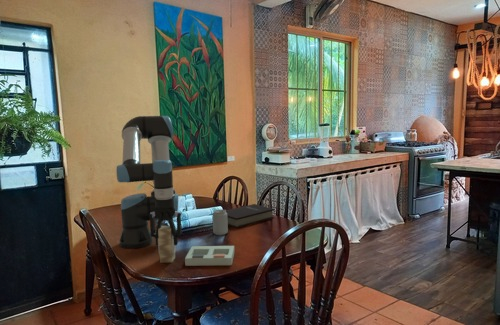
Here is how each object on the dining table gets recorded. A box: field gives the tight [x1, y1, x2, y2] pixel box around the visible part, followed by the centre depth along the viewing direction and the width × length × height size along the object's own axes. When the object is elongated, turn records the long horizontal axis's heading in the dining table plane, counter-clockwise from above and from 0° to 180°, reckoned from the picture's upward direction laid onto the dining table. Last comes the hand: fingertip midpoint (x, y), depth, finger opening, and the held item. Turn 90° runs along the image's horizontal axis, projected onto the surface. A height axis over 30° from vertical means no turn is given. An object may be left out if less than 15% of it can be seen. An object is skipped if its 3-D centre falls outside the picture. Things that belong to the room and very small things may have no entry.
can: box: [212, 209, 229, 236], centre depth 177 cm, size 8×8×12 cm
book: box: [225, 203, 275, 229], centre depth 202 cm, size 28×20×6 cm
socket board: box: [184, 245, 235, 267], centre depth 145 cm, size 19×14×4 cm
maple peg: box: [158, 225, 176, 264], centre depth 144 cm, size 5×5×14 cm
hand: (167, 252), depth 144 cm, fingers closed on maple peg, 5 cm apart
